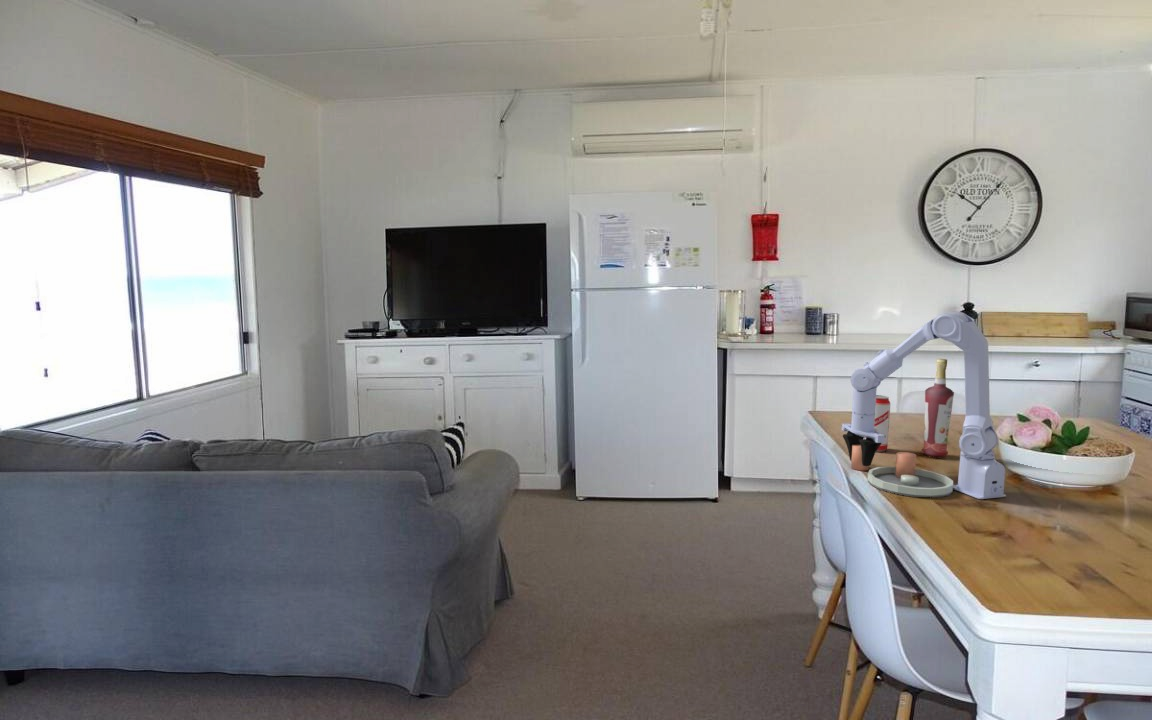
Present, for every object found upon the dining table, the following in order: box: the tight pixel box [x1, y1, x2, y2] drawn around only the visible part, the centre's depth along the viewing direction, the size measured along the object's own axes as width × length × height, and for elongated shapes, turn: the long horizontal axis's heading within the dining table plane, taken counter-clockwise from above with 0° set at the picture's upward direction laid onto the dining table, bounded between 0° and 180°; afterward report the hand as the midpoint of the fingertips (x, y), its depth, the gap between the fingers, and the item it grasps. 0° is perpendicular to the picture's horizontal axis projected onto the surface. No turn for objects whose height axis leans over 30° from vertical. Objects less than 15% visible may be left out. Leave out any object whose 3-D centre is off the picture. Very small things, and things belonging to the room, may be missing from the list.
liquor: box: [921, 358, 955, 459], centre depth 205 cm, size 7×7×28 cm
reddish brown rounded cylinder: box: [850, 444, 870, 472], centre depth 192 cm, size 4×4×6 cm
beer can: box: [864, 394, 891, 453], centre depth 212 cm, size 6×6×16 cm
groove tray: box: [867, 465, 954, 499], centre depth 178 cm, size 19×19×2 cm
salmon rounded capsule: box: [895, 451, 917, 479], centre depth 183 cm, size 4×4×6 cm
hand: (860, 462), depth 193 cm, fingers closed on reddish brown rounded cylinder, 4 cm apart
